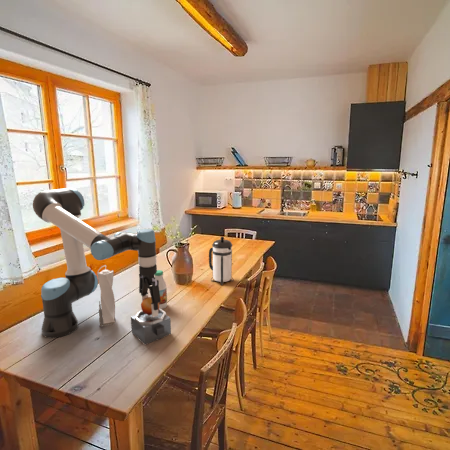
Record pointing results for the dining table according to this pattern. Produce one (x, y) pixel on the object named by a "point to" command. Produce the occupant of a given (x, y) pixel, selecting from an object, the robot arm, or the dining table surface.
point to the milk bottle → (161, 289)
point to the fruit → (147, 306)
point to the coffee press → (221, 260)
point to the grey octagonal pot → (150, 326)
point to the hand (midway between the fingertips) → (150, 312)
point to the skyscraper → (106, 297)
